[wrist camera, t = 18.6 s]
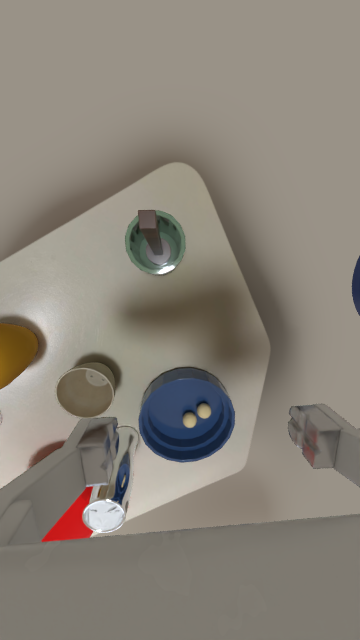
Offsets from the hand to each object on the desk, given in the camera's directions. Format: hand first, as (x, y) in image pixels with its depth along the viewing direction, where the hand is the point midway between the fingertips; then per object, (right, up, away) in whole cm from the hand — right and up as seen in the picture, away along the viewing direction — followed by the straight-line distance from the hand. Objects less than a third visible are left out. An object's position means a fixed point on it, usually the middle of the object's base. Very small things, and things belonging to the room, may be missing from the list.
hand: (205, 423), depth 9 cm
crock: (-5, +17, +27) cm, 33 cm away
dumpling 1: (+1, -17, +33) cm, 37 cm away
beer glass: (-14, -22, +35) cm, 44 cm away
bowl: (0, -15, +34) cm, 37 cm away
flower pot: (-18, -7, +32) cm, 37 cm away
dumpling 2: (+4, -15, +32) cm, 36 cm away
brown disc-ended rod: (-5, +17, +27) cm, 32 cm away
